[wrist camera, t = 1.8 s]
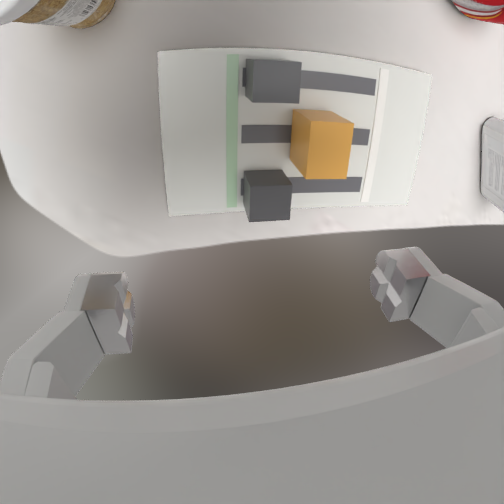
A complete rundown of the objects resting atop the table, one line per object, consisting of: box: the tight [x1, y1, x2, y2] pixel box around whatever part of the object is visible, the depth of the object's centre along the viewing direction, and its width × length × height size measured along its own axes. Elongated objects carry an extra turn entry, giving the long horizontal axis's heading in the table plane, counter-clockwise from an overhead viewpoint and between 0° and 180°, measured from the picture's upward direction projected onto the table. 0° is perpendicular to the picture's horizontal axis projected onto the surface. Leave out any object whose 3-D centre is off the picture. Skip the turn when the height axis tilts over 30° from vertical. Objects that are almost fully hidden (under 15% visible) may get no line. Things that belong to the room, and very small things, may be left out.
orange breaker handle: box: [290, 109, 354, 179], centre depth 22 cm, size 3×4×4 cm
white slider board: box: [157, 48, 432, 222], centre depth 23 cm, size 22×13×5 cm, turn 89°
